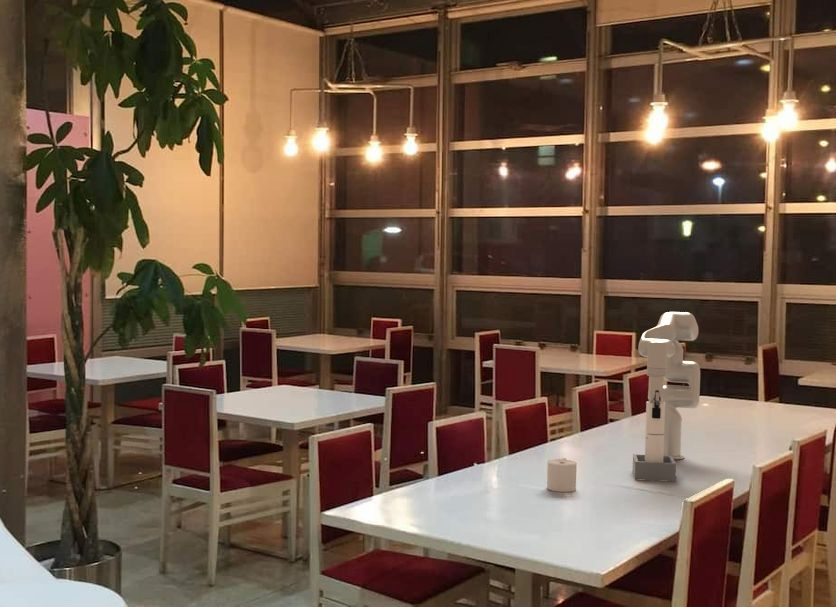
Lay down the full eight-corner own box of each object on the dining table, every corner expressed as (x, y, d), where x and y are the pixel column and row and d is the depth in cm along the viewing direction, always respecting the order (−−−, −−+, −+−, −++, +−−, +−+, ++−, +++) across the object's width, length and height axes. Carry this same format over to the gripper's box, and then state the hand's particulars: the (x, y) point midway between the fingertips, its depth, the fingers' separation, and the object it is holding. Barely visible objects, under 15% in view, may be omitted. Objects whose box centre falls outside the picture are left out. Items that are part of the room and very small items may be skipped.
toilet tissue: (553, 492, 346) (554, 465, 346) (540, 485, 358) (541, 459, 357) (580, 491, 349) (581, 464, 349) (567, 484, 360) (567, 458, 360)
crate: (632, 471, 386) (633, 454, 386) (671, 473, 383) (672, 456, 383) (634, 479, 371) (635, 461, 370) (675, 481, 368) (676, 463, 368)
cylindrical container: (655, 467, 372) (657, 403, 371) (640, 464, 377) (642, 401, 376) (666, 465, 376) (668, 402, 375) (651, 462, 382) (653, 400, 381)
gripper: (645, 369, 384) (644, 413, 385) (648, 374, 367) (647, 419, 368) (664, 370, 383) (663, 413, 384) (668, 374, 366) (667, 420, 367)
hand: (655, 416), depth 376 cm, fingers closed on cylindrical container, 7 cm apart
